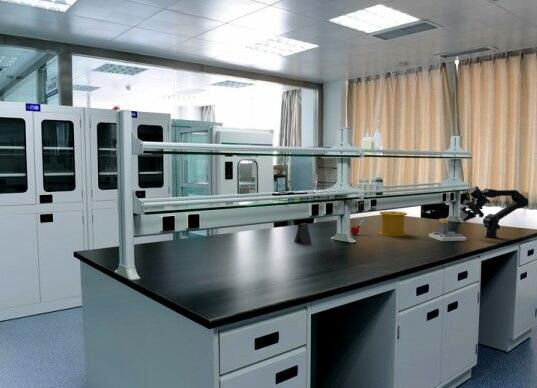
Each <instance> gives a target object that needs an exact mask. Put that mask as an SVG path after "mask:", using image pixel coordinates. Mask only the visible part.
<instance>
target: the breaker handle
mask: <svg viewBox="0 0 537 388" xmlns="http://www.w3.org/2000/svg"><path fill="white" fill-rule="evenodd" d="M438 221H439V223H438V224H439V226H438V232H439V233H438V235H440V234H448V232H449V229H448V228H449V219H447V218H439V219H438Z"/></svg>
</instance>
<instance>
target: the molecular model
mask: <svg viewBox="0 0 537 388" xmlns="http://www.w3.org/2000/svg"><path fill="white" fill-rule="evenodd" d="M366 224H367V221H366V220H365V219H362V220H360V223H359V224H358V225H357V226H353V225H352V224H351V223H350V227H349V229H350V233H351V234H352V235H357V234H359V231H360V228H361V227H362V226H365V225H366Z"/></svg>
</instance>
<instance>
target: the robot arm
mask: <svg viewBox="0 0 537 388" xmlns="http://www.w3.org/2000/svg"><path fill="white" fill-rule="evenodd" d="M467 192H468V194H469V195H470V196H471V197H472V198H473V200H472V199H471V200H468V199H464V200H463V203H462V205H463V206H462V205H461V206H460V207H459V210H460V211H462V213H463V214H464V216H463V218H462V222H467V221H469V220H473V219H474V218H477V216H478V217H479V218H481V219H482V218H483V219H482V224H483V226H484V228H486V232H485V233H486V235H484V236H483V237H484V238H489V239H497V238H500V237H499V236H498V230H500V229H501V225H500V224H499V223H500V220H502V219H503V218H505V217H507V216H508V215H510V214H512V213H513V212H514V211H516V210H518V209H523V208H525V207H527V206H528V205H529V199H528V198H526V197H525V196H524V195H523V194H522V193H520V192H519V190H517V189H505V190H504V189H502V190H501V189H500V190H499V189H498V190H497V189H494V188H493V189H492V188H484V189H483V190H481V189H480V188H479V186H477V185H475V186H474V187H471V188H470V189H469V190H467ZM497 197H511V200H512V201H511V203H510V204H509V205H507V206H506V207H504V208H502V209H500V210H499V211H497V212H496V213H494V214H493V213H488V214H487V215H486V216H485V213H484V212H483V210H482V209H484V206H485V204H489V205H490V204H491V202H490V201H491V200H490V199H492V198H497ZM489 198H490V199H489Z"/></svg>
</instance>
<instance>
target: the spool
mask: <svg viewBox="0 0 537 388" xmlns="http://www.w3.org/2000/svg"><path fill="white" fill-rule="evenodd" d="M407 213H408V212H403V211H392V210H391V211H385V210H384V211H380V212H379V214H380V215H381V230H380V231H379V232H378V234H379V235H382V236H388V237H405V236H407V233H406V232H405V216H407V215H408V214H407Z"/></svg>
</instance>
